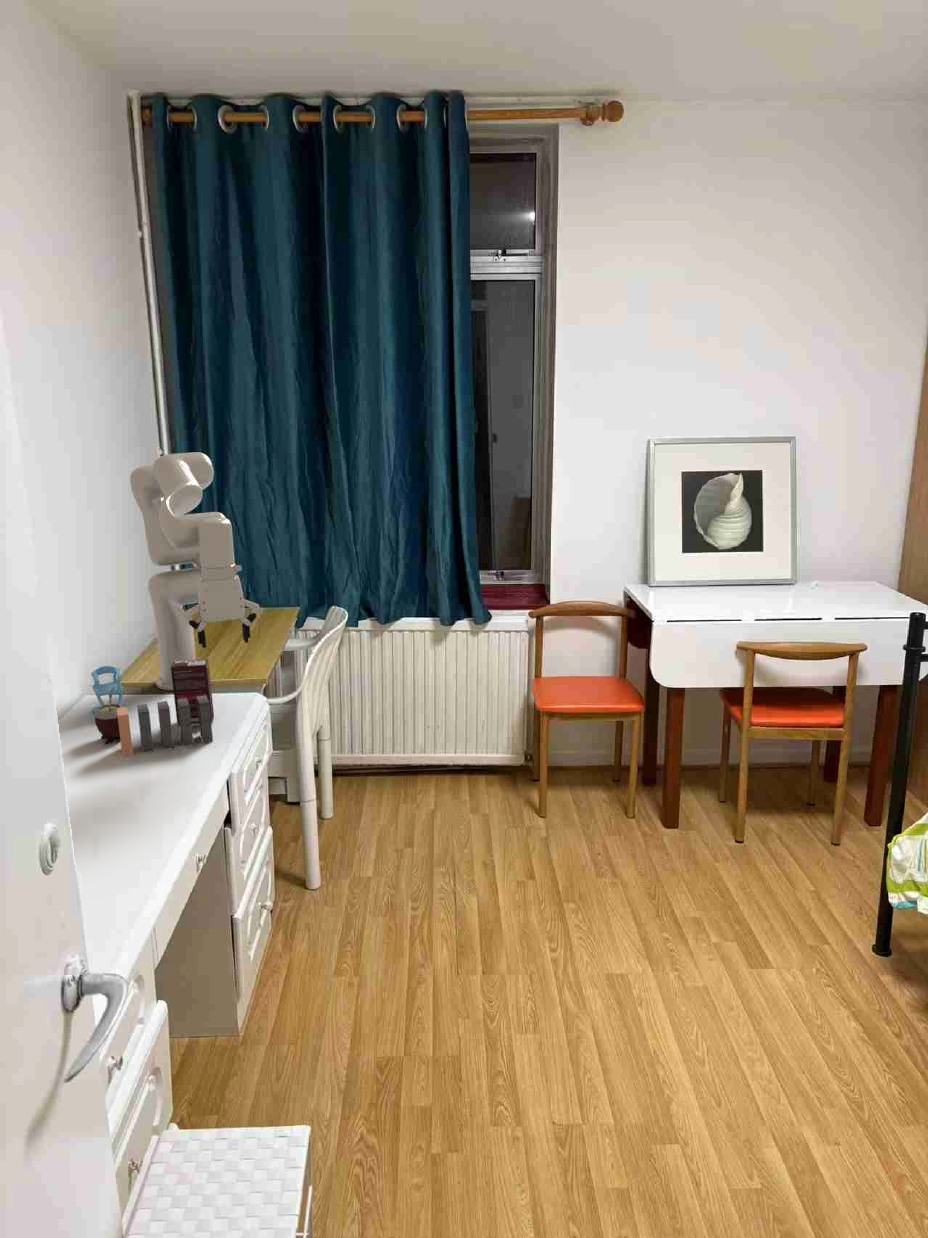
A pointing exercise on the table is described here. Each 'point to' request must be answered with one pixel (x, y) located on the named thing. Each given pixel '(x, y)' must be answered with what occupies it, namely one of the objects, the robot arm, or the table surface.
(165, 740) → the domino
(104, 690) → the chair
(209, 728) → the domino
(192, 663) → the supplement box
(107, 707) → the mate gourd
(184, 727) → the domino
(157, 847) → the table surface
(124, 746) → the rust domino
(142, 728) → the domino
